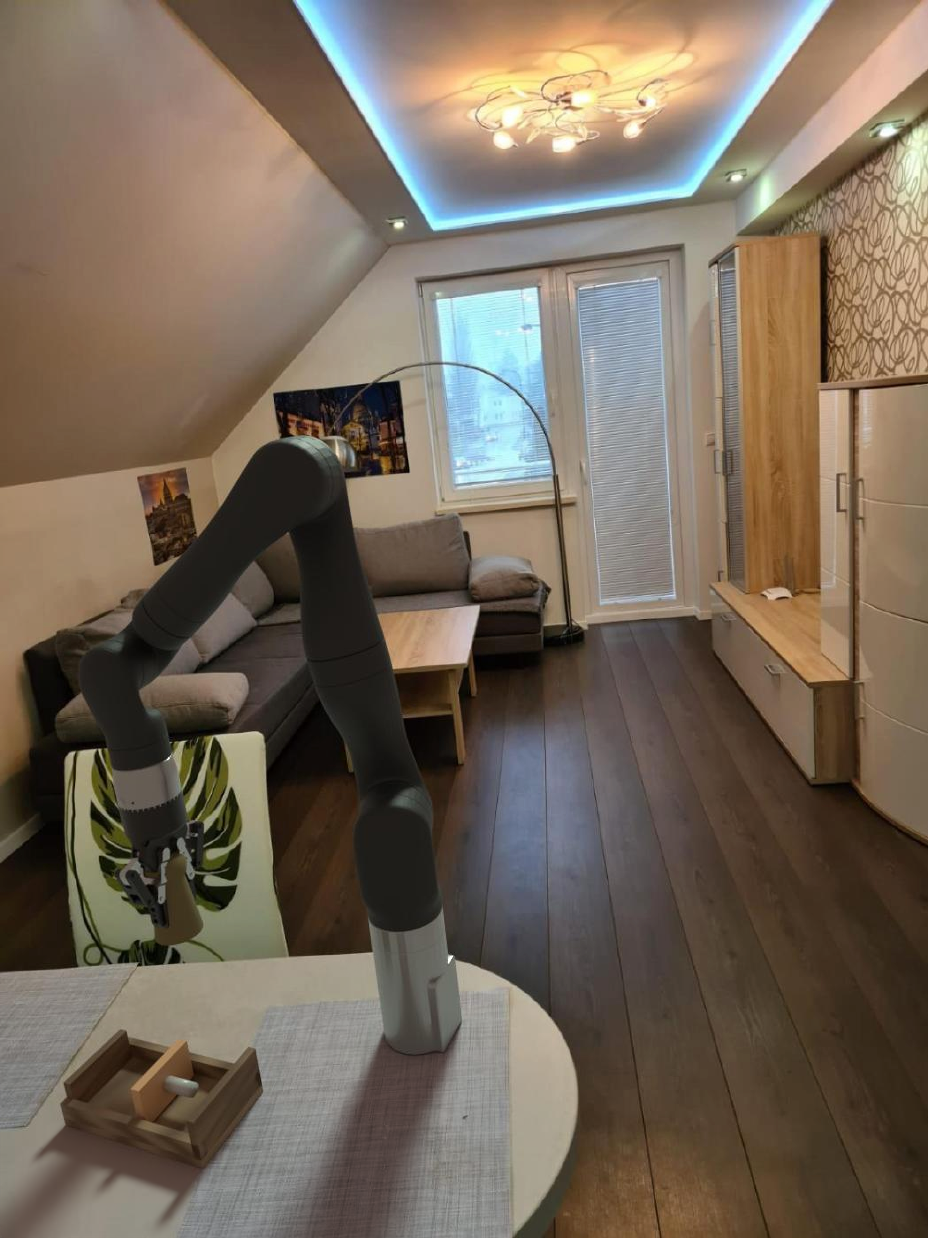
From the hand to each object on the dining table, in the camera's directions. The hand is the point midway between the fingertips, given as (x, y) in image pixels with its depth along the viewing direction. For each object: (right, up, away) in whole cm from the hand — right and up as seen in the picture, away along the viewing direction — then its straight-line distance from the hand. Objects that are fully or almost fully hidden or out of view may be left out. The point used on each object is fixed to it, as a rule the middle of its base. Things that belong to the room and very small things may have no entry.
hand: (176, 915), depth 107 cm
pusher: (+4, -18, -10) cm, 21 cm away
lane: (+2, -20, -9) cm, 22 cm away
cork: (0, -2, +1) cm, 3 cm away
